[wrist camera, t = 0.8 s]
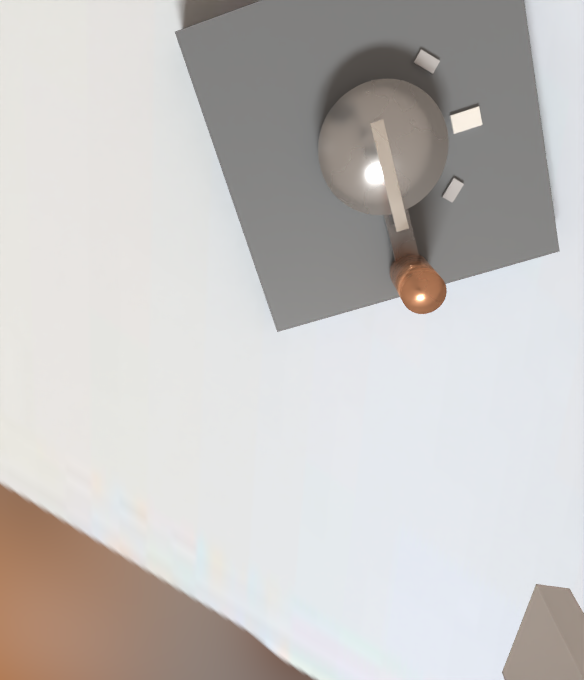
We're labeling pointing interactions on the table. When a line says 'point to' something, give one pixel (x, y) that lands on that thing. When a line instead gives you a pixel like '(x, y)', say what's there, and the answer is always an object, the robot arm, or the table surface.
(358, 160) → the dial
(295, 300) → the board
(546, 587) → the robot arm
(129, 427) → the table surface
